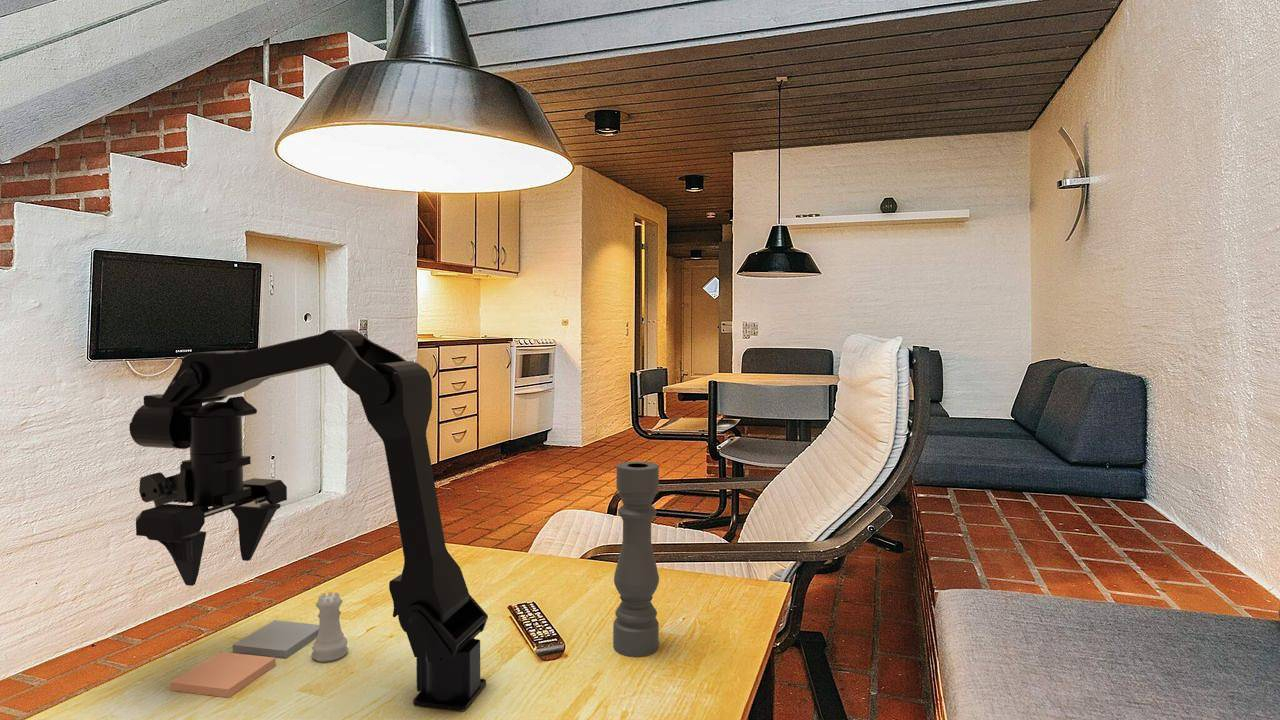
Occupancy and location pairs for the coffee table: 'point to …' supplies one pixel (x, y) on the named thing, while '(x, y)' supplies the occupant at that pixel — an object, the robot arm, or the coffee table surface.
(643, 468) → the candle holder
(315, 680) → the coffee table surface
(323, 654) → the rook chess piece
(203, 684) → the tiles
